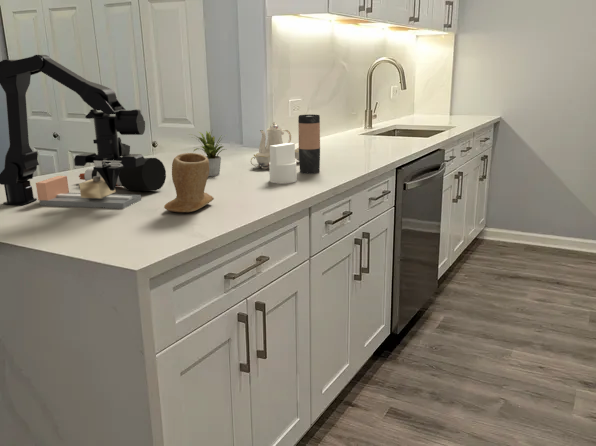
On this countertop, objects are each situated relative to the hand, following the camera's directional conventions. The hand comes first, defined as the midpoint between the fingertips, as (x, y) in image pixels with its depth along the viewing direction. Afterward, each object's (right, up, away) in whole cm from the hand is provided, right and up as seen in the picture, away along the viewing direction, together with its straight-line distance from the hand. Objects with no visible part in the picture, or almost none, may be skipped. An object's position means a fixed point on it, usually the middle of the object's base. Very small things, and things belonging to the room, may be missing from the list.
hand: (112, 190), depth 153 cm
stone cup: (+24, -5, -6) cm, 25 cm away
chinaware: (+45, +13, +58) cm, 75 cm away
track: (-7, -3, +3) cm, 8 cm away
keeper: (-4, -1, +1) cm, 5 cm away
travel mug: (+57, +9, +42) cm, 71 cm away
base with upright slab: (+47, +5, +28) cm, 55 cm away
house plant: (+21, +8, +40) cm, 46 cm away
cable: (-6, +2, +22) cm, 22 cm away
